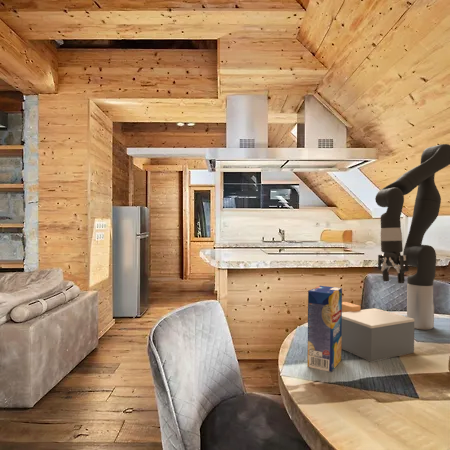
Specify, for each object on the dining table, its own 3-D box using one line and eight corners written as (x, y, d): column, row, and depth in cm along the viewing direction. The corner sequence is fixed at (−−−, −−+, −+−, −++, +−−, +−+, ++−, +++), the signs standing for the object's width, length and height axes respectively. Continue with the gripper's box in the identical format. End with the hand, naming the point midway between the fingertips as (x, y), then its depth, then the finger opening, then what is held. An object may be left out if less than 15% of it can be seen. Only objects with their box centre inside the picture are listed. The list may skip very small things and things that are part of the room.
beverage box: (341, 359, 110) (342, 287, 110) (330, 372, 101) (331, 293, 101) (319, 355, 114) (320, 285, 114) (307, 366, 105) (308, 291, 104)
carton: (374, 338, 131) (374, 310, 131) (414, 352, 117) (414, 321, 117) (333, 345, 123) (334, 316, 123) (371, 361, 109) (371, 328, 109)
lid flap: (359, 306, 137) (360, 299, 137) (414, 321, 117) (414, 314, 117) (320, 311, 129) (320, 304, 129) (371, 328, 109) (371, 320, 109)
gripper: (413, 239, 133) (415, 283, 132) (387, 240, 147) (389, 280, 146) (395, 239, 132) (397, 284, 131) (371, 240, 145) (373, 281, 144)
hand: (393, 282), depth 138 cm, fingers open, 8 cm apart
